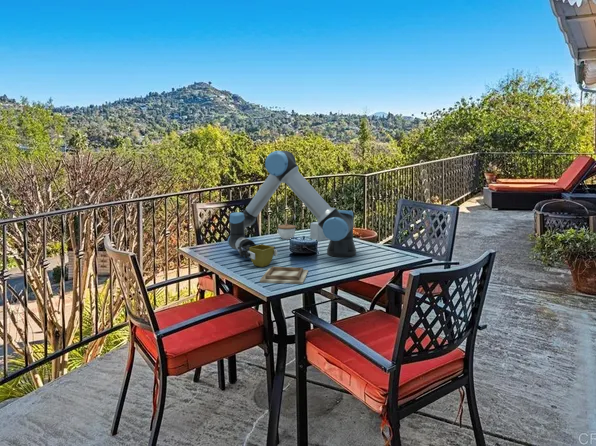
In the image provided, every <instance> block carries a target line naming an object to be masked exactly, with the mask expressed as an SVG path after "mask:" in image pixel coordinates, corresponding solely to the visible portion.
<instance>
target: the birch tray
mask: <svg viewBox="0 0 596 446" xmlns="http://www.w3.org/2000/svg"><path fill="white" fill-rule="evenodd" d="M307 273H308V274H309V269H304V267H296V266H295V267H294V266H293V267H291V266H271V267H270V268H268V269H267V270H266V271H265V272H264V274H263V275H262V277H260V279H259V283H261V284H262V283H264V284H284V283H290V284H289V285H304V283H305V280H306V278H307V276H306V275H308V274H307ZM303 282H304V283H303Z"/></svg>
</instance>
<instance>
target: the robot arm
mask: <svg viewBox="0 0 596 446" xmlns="http://www.w3.org/2000/svg"><path fill="white" fill-rule="evenodd" d="M264 167H265V169H266V171H267V173H269V174H268V176H267V177H266V178H265V180H264V182H263V183H262V184H261V185H260V187H259V189H258V190H257V192H256V193H255V195H254V196H253V197H252V199H251V200H250V202H249V203H248V205H247V206H246V208H245V209H244V210H243V212H240V211H238V212H237V211H235V212H231V213H230V214H229V236H228V238H227V244H228V246H229V247H230V248H231V249H233V250H236V251H237V253H239V256H240V257H241V258H242V257H243V258H245V259H248V258H250V259H251V258H252V259H255V253H253V252H250V251H249V248H250V247H253V246H256V245H257V244H256V243H255V242H254V241H253V240H252V239H249V238H247V237H245V235H246V234H245V233H246V231H245V229H247V228H248V227H251V226H253V225H254V224H255V223H256V221H257V218H258V216H259V214H260V213H261V212H262V210H263V209H264V207H265V206H266V205H267V203H268V202H269V200H270V199H271V197H273V195H274V193H276V190H277V189H278V188H279V187H280V185H281V183H283V184H286V185H287V186H288V187H289V189H290V190H291V191H292V192H293V193H294V195H296V197H297V198H298V199H299V200H300V201H301V202H302V203H303V205H304V206H305V207H306V208H307V209H308V210H309V211H310V212H311V214H312V215H313V216H314V217H315V218H316V219H317V222H318V225H319V226H320V227H321V228H322V229H323V233H324V235H325V236H326V237H327V238H328V239H327V240H329V243H328V246H327V248H326V249H327V250H326V254H327V256H330V257H336V258H350V257H354V256H356V255H357V248H356V245H355V242H354V218H355V217H354V212H353V210H343V209H342V210H341V209H337V208H336V207H331V206H330V204H329V203H327V201H326V200H325V199H324V198H323V197H322V196H321V195H320V193H318V191H317V190H316V189H315V188H314V187H313V185H311V184H310V182H309V181H308V180H307V179H306V178H305V177H304V176H303V175H302V173H301V172H300V171H299V166H298V165H297V160H296V157H295V155H294V154H293V153H292V152H290V151H288V150H275V151H272V152H270V153H269V154H267V156H266V158H265V163H264ZM260 245H264V244H263V243H260ZM267 246H269V245H267ZM273 247H274V253H273V257H274V256H275V257H278V250H277V249H276V247H275V246H273Z"/></svg>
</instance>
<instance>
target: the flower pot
mask: <svg viewBox="0 0 596 446" xmlns="http://www.w3.org/2000/svg"><path fill="white" fill-rule="evenodd" d="M274 247H275V246H273V245H268V246H267V245H266V244H263V245H261V244H256V246H253V247H250V248H249V251H250V252H253V253H255V259H252V258H250V260H251V262H252V264H253V266H256V267H260V268H265V267H267V266H269V265H270V264H271V263H272V261H273V257H274V255H273V253H274Z"/></svg>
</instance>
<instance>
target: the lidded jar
mask: <svg viewBox="0 0 596 446" xmlns="http://www.w3.org/2000/svg"><path fill="white" fill-rule="evenodd" d="M277 233H278V235H279V237H280V238H281V239H282V240H284V241H285V240H287V241H288V240H291V239H290V238H292V239H293V238H294V236H295V234H296V225H294V224H289V223H287V222H286V223H285V224H280V225H277Z"/></svg>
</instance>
